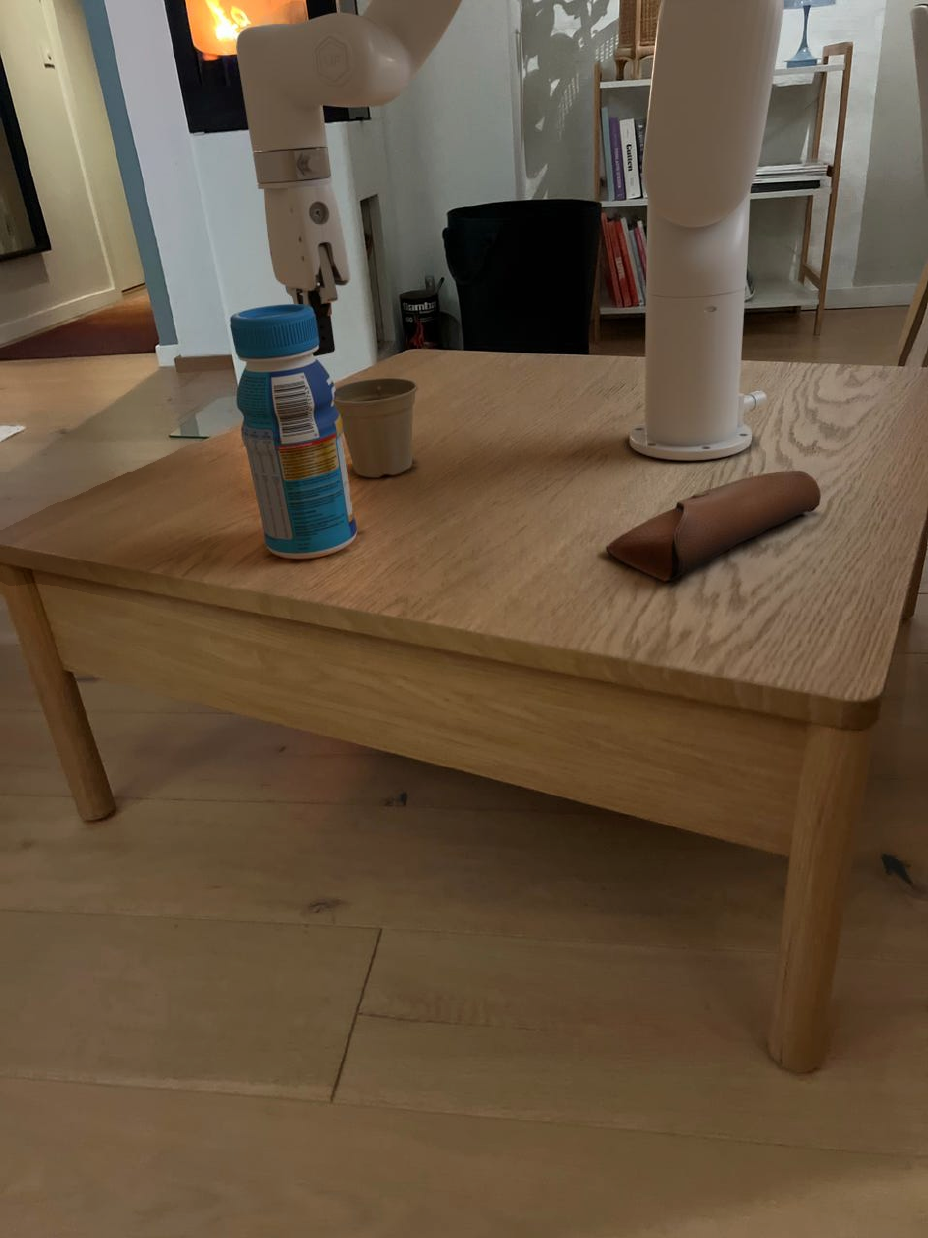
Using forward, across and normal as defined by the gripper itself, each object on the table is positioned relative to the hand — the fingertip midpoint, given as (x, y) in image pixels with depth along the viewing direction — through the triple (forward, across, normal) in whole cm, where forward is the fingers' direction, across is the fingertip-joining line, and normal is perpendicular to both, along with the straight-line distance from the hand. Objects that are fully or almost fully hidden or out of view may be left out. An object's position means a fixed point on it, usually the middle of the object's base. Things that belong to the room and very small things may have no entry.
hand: (319, 352), depth 101 cm
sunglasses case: (+10, -48, -11) cm, 50 cm away
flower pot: (+11, -11, 0) cm, 16 cm away
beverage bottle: (+11, -24, +14) cm, 30 cm away
